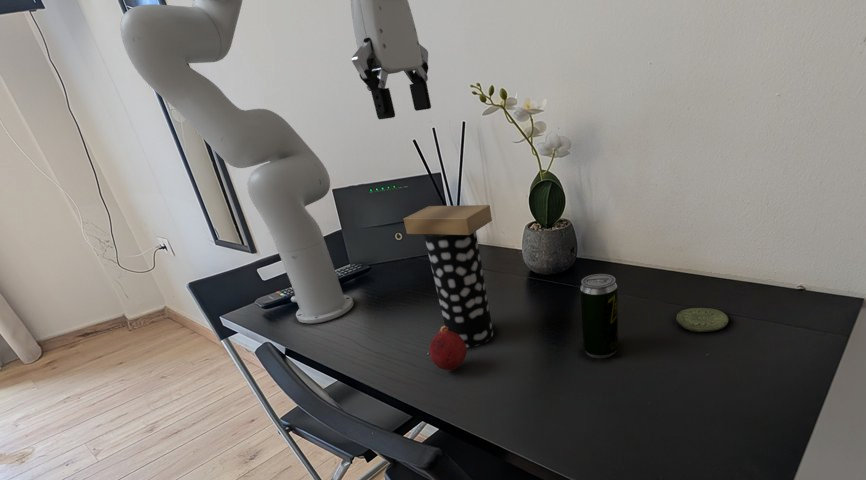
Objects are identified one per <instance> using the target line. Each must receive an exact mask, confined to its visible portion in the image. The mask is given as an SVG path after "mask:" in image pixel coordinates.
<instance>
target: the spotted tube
mask: <svg viewBox="0 0 866 480" xmlns="http://www.w3.org/2000/svg"><path fill="white" fill-rule="evenodd" d="M423 237H424V240H425V246H426V251H427V255H428V258H429V263H430V267H431V271H432V272H431V273H432V276H433V281H434V285H435V289H436V292H437V296H438V302H439V306H440V310H441V315H442V319H443V324H444V326H447V327H448V331H452V332H454V333H456V334H458V335H459V336H460V337H461V338H462V339H463V340H464V342H465V345H466V348H467V349H468V348H474V347H478V346H481V345H483V344H485V343H487V342H488V341H490V340H491V339H492V337H493V335H494V328H493V324H492V323H493V322H492V318H491V311H490V306H489V300H488V295H487V293H488V292H487V288H486V287H487V286H486V281H485V277H484V270H483V265H482V259H481V252H480V247H479V242H478V235H477V231H475V232H474V233H472V234H471V235H436V234H423Z"/></svg>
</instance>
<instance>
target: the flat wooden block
mask: <svg viewBox="0 0 866 480" xmlns="http://www.w3.org/2000/svg"><path fill="white" fill-rule="evenodd" d="M492 221H493V217H492V212H491V205H490V204H475V205H474V204H471V205H466V204H465V205H428V206H426V207H424V208H422V209H420V210H418V211H416V212H414V213H412V214H410V215H408V216H406V217H403V223H404V227H405V231H406V234H407V235H424V234H436V235H471V234H472V233H474V232H475V231H476V232H477V231H478V230H480V229H482V228H483V227H485V226H486V225H488V224H489V223H491V222H492Z"/></svg>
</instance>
